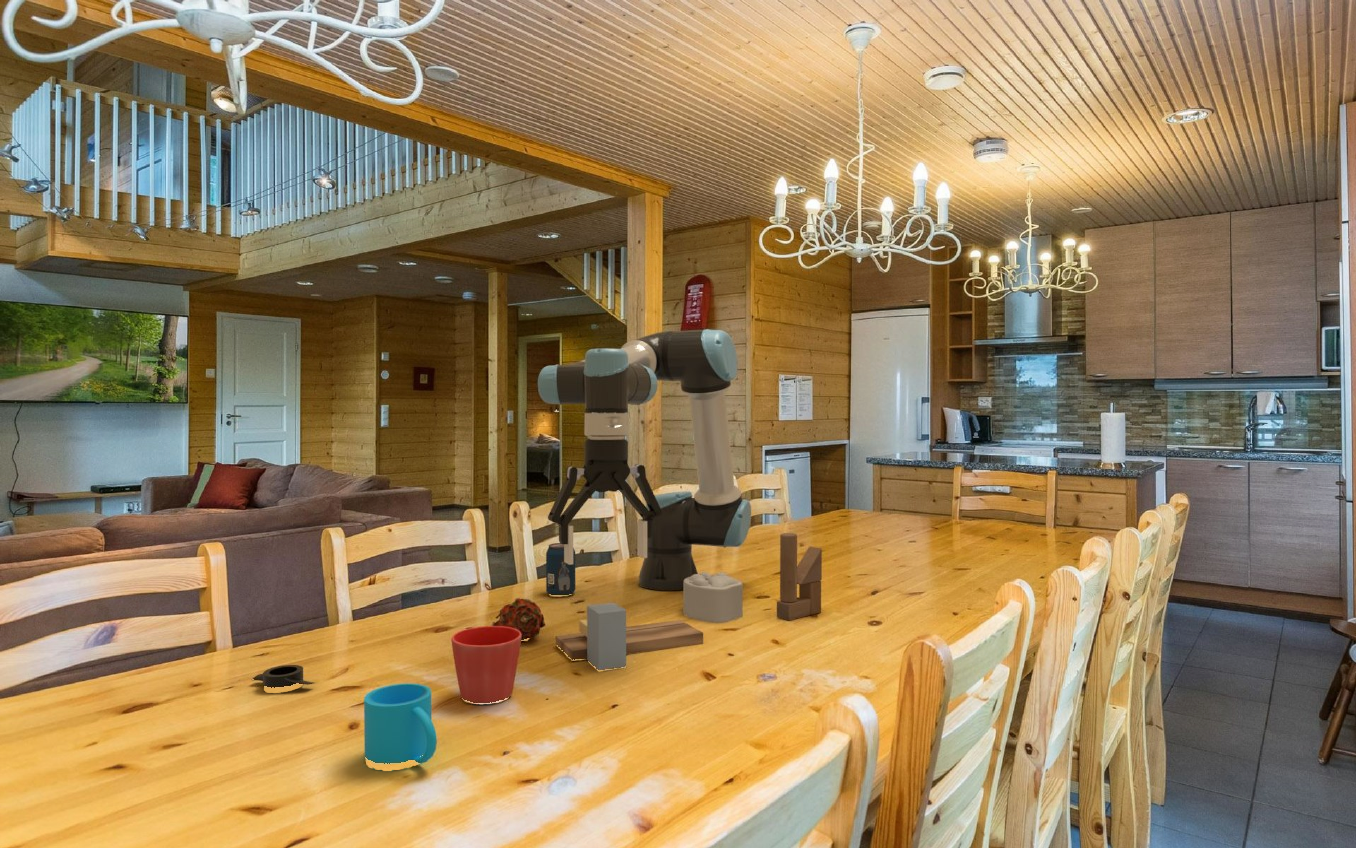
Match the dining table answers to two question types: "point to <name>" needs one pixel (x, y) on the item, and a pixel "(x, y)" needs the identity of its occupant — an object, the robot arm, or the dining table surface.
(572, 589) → the soda can
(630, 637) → the board
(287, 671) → the black winged ring
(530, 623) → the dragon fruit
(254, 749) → the dining table surface
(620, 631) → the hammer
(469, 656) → the flower pot
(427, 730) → the mug
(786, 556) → the wooden block
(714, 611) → the paw mold
